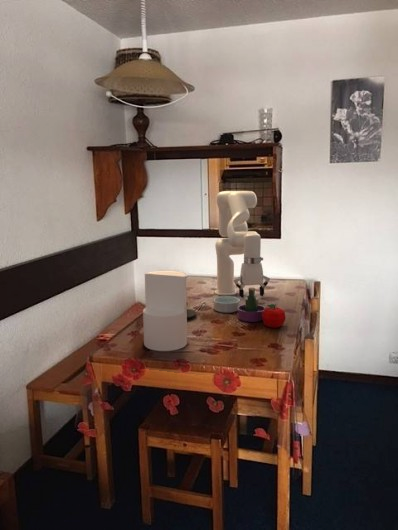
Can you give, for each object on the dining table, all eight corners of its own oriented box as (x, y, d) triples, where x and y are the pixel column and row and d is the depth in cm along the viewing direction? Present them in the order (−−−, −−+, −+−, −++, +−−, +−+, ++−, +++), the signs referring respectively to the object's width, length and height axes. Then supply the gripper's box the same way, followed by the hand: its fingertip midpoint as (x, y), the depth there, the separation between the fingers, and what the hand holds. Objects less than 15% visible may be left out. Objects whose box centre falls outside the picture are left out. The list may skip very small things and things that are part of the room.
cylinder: (156, 333, 194) (154, 269, 189) (193, 338, 188) (193, 272, 183) (136, 347, 179) (133, 277, 173) (175, 353, 172) (174, 281, 167)
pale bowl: (224, 304, 238) (224, 295, 237) (244, 309, 230) (245, 299, 229) (208, 309, 229) (208, 300, 228) (228, 314, 220) (228, 304, 219)
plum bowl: (248, 312, 223) (248, 302, 222) (270, 317, 215) (271, 307, 214) (231, 318, 214) (232, 308, 213) (254, 324, 205) (254, 313, 204)
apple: (280, 321, 210) (280, 300, 208) (289, 328, 200) (290, 306, 198) (258, 322, 208) (258, 301, 206) (266, 330, 197) (266, 307, 195)
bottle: (249, 314, 218) (250, 286, 216) (260, 316, 214) (260, 287, 212) (242, 317, 214) (242, 288, 211) (252, 319, 210) (253, 290, 207)
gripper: (266, 258, 215) (266, 293, 218) (231, 260, 211) (231, 295, 214) (272, 261, 207) (272, 297, 211) (236, 262, 204) (236, 300, 207)
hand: (251, 296), depth 212 cm, fingers open, 9 cm apart
